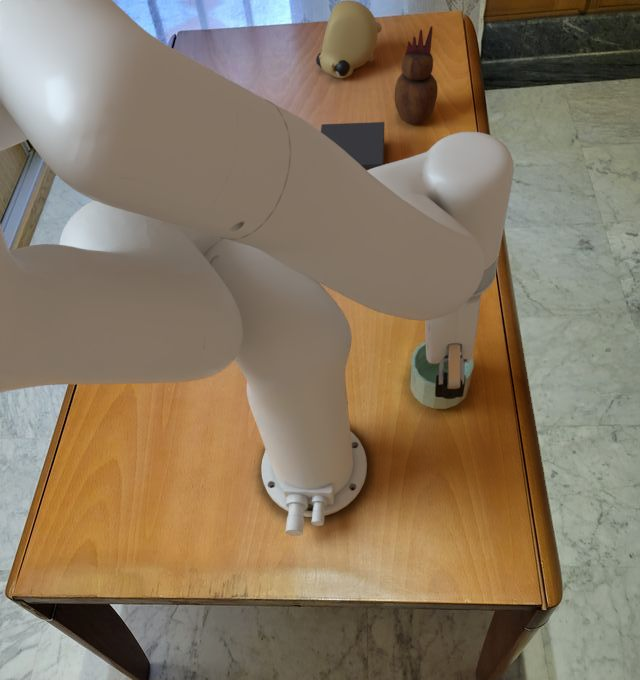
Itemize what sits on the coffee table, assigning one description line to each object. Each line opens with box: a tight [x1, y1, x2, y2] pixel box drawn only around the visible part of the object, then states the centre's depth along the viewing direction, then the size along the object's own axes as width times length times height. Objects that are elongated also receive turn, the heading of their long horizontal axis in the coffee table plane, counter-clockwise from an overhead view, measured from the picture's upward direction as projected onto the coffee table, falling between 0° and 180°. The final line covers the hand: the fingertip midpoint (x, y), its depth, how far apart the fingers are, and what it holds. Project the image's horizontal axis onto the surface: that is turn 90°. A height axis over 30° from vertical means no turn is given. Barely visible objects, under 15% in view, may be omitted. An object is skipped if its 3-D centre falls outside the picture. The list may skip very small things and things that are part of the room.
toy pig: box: [315, 0, 383, 79], centre depth 112 cm, size 10×12×11 cm
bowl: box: [409, 340, 475, 410], centre depth 78 cm, size 7×7×6 cm
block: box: [320, 121, 385, 170], centre depth 100 cm, size 10×10×4 cm
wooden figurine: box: [393, 26, 439, 126], centre depth 101 cm, size 7×6×15 cm
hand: (447, 360), depth 76 cm, fingers open, 9 cm apart
